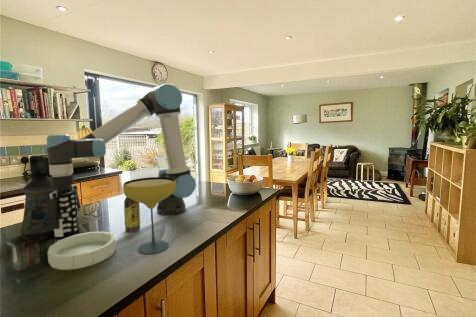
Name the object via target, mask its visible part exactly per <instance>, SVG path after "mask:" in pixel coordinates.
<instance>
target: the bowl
mask: <svg viewBox="0 0 476 317" xmlns="http://www.w3.org/2000/svg"><path fill="white" fill-rule="evenodd" d="M116 246H117V244H116V237H115V233H112V232H108V231H87V232H83V233H80V234H76V235H73V236H70V237H67V238H64V239H61V240H59V241H58V242H56V243H55V242H54V243H53V244H51V245H50V246H49V247H48V250H47V253H46V254H47V261H48V264H49V266H50V267H51V268H52V269H54V270H58V271H59V270H60V271H71V270H78V269H83V268H87V267H91V266H93V265H97V264H98V263H102V262H103V261H105V260H107V259H108V258H110V257H111V256H113V255H114V254H115V251H116V248H117V247H116Z"/></svg>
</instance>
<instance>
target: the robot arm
mask: <svg viewBox="0 0 476 317" xmlns="http://www.w3.org/2000/svg"><path fill="white" fill-rule="evenodd" d="M182 102H183V95H182V92H181V91H180V88H178V87H177V86H175V85H174V84H172V83H164V84H163V83H162V84H159V85H158V86H155V87H153V88H151V89H150V90H148V92H146V94H143V95H142V96H141V97H140V98H139V99H137V100H136V103H134V105H132V106H130V107H128V108H127V109H126V110H124V111H123V112H121V113H119V114H118V115H116V116H115V117H113V118H112V119H110V120H108V121H106V123H104V124H103V125H101V126H99V127H97V128H96V129H95V130H93V131H91V132H90V133H88V134H87V135H85V136H83V137H82V138H79V139H78V138H77V139H74V138H73V139H72V138H71V135H69V134H48V135H47V137H46V151H47V161H48V169H49V175H50V176H49V177H50V183H51V186H53V187H54V191H53V193H48V195H47V196H48V220H52V221H53V227H54V232H55V237H62V236H63V226H62V219H60V216H61V205H60V206H57V197H58V196H57V195H61V194H66V193H67V192H71V191H72V190H75V191H76V196H77V208H78V212H79V211H80V210H81V203H80V198H79V194H78V186H77V185H74V183H75V180H74V179H75V178H74V175H73V173H74V166H73V159H90V158H103V157H105V156H106V155H107V154H106V153H107V149H106V148H107V147H106V144H108V143H110V142H111V141H112V140H114V139H116V138H117V137H119V135H121V134H123V133H124V132H125V131H127V130H128V129H130V128H132V127H134V125H136V124H137V123H139V122H141V121H143V120H144V119H145V118H150V117H152V116H153V115H155V117H157V118H158V119H159V122H160V128H161V135H162V139H163V145H164V150H165V156H166V162H167V167H168V168H164V169H163V168H162V169H159V170H158V175H157V177H167V178H173V179H174V180H175V182H176V189H175V191H174V192H173V193H172V194H171V195H170V196H169V197H167V198H165V199H163V200H162V201H160V202H159V203H157V205H156V212H157V214H160V215H176V214H179V213H183V212H185V211H186V203H185V201H184V199H185V198H188V197H190V196H192V194H194V192H195V190H196V187H197V183H196V179H195V178H194V177H193V175H192V174H191V167H189V166H188V165H187V163H186V162H187V161H186V158H185V157H186V155H185V151H184V150H185V149H184V143H183V138H182V132H181V131H182V130H181V126H180V120H179V116H180V114H181V113H182V111H181V105H182ZM55 237H54V238H55Z"/></svg>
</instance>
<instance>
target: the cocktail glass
mask: <svg viewBox="0 0 476 317" xmlns="http://www.w3.org/2000/svg"><path fill="white" fill-rule="evenodd" d="M175 189H176V182H175V180H174V179H173V178H167V177H158V176H155V177H154V176H152V177H141V178H137V179H132V180H128V181H125V182H124V183H123V185H122V190H123V194H124V196H125V197H128V198H129V199H131V200H134V201H137V202H139V204H143V205H145V206H146V208H148V210H150V217H151V218H150V219H151V220H150V221H151V241H148V242H144V243H142V244H141V245H140V246H139V247H138V248H137V250H138V252H139V253H140V254H142V255H155V254H159V253H162V252H164V251H166V250H168V248H169V246H170V245H169V243H168V242H167V241H166V240H165V241H164V240H156V238H155V229H154V228H155V227H154V212H153V209H155V208H156V207H157V205H158V203H159V202H160V201H162V200H163V199H165V198H167V197H169V196H170V195H171V194H172V193H173V192H174V191H175Z"/></svg>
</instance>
